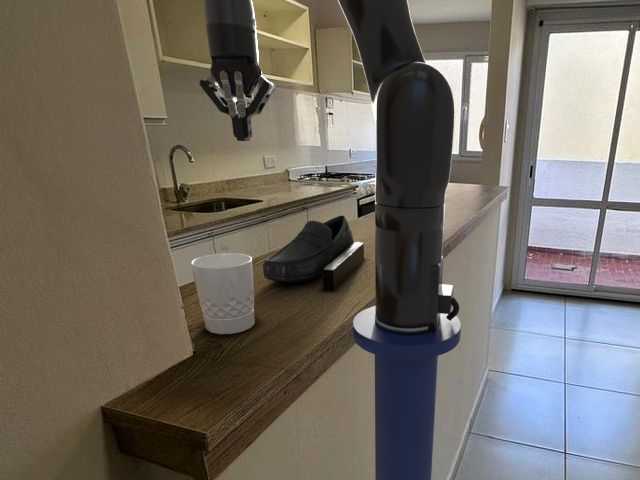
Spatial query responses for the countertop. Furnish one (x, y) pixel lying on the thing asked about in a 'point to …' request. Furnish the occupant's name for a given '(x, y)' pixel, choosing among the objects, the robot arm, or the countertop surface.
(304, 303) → the countertop surface
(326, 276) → the shoe rail
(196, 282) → the white cup
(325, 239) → the loafer
